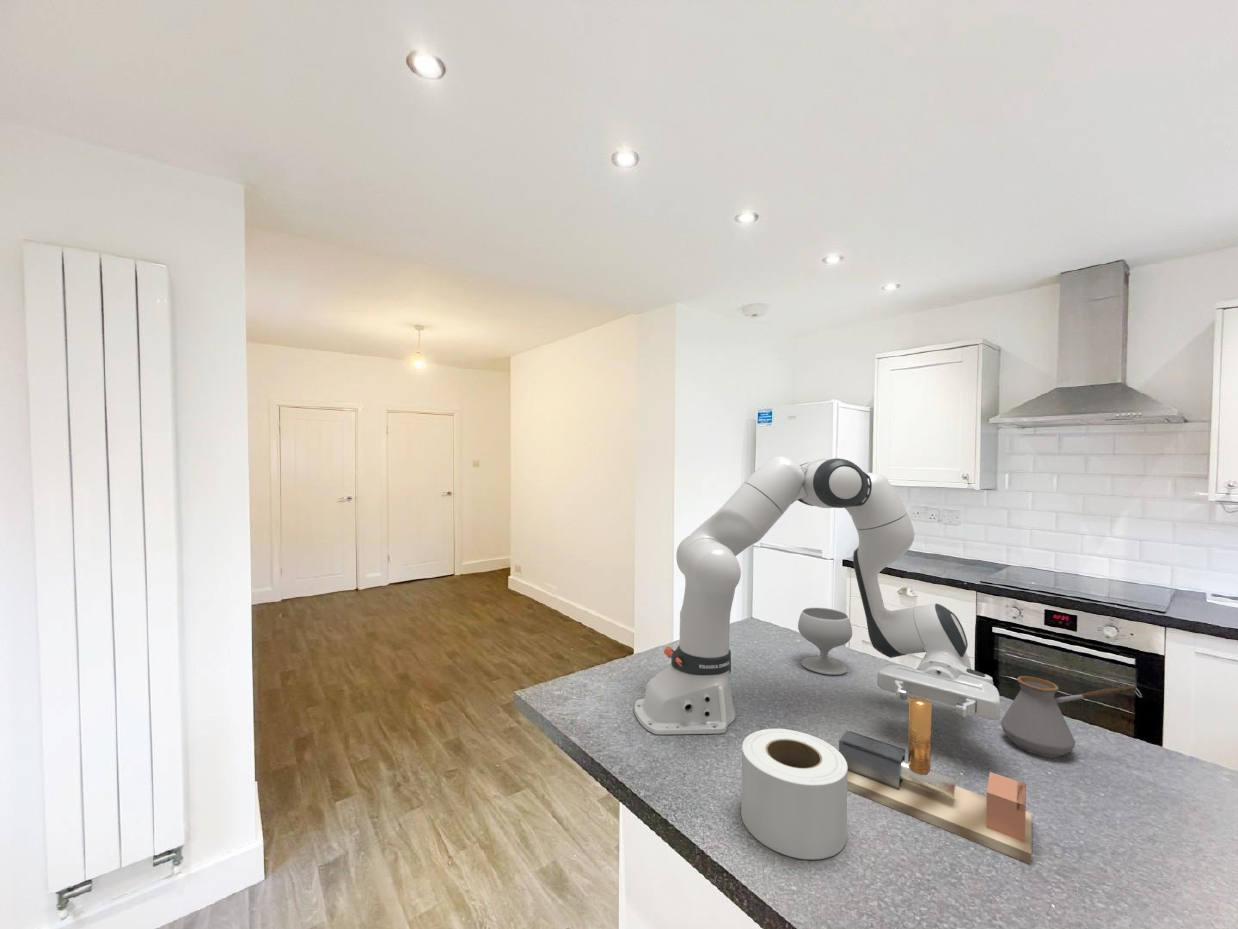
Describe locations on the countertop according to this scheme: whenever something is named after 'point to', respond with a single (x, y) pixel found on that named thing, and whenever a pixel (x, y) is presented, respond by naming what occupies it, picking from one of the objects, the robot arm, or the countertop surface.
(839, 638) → the chalice
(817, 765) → the toilet paper roll
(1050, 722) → the coffee pot
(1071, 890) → the countertop surface
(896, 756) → the sleeve
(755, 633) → the countertop surface
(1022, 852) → the board
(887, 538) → the robot arm
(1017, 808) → the socket
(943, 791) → the tube
